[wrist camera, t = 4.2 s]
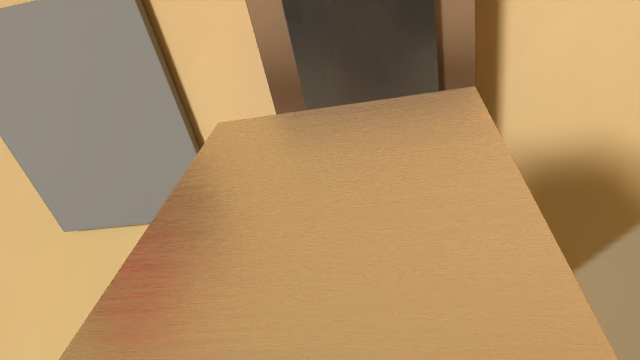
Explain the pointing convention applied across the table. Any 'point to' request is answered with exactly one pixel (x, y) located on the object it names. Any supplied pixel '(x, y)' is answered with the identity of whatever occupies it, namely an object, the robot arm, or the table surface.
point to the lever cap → (348, 247)
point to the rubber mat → (92, 110)
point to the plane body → (362, 49)
